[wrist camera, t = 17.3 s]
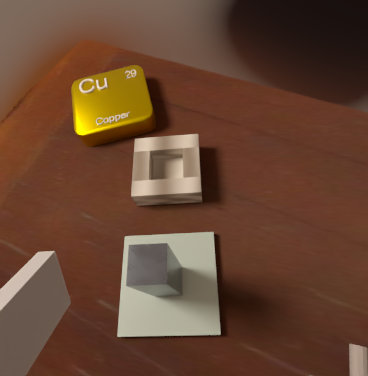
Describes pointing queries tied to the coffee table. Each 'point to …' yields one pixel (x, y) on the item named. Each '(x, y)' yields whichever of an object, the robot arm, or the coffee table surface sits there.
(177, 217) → the coffee table surface
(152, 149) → the socket block
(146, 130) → the element tile
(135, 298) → the plate
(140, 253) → the peg
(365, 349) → the pipe connector
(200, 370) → the coffee table surface
